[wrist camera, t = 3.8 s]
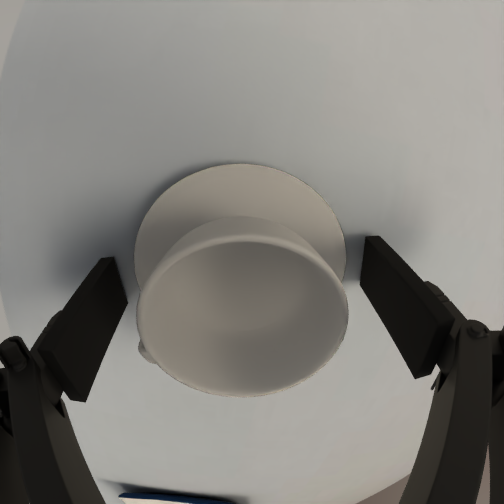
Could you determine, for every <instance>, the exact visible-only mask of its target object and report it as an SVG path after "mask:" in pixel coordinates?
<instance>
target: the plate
mask: <svg viewBox="0 0 504 504" xmlns="http://www.w3.org/2000/svg"><path fill="white" fill-rule="evenodd" d="M119 498H120V499H121V500H123V501H124V502H125V503H126V504H234V503H230V502H225V501H217V500H210V499H203V498H194V497H187V496H177V495H166V494H152V493H123V494H121V495H119Z"/></svg>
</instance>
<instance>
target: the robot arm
mask: <svg viewBox="0 0 504 504" xmlns="http://www.w3.org/2000/svg"><path fill="white" fill-rule="evenodd" d="M360 286H361V288H362V289H363V291H364V293H365V294H366V296H367V297H368V299H369V301H370V302H371V304H372V305H373V307H374V309H375V310H376V312H377V314H378V315H379V317H380V319H381V320H382V322H383V324H384V325H385V327H386V329H387V330H388V332H389V334H390V336H391V337H392V339H393V341H394V342H395V344H396V346H397V348H398V349H399V351H400V353H401V355H402V357H403V358H404V360H405V362H406V364H407V366H408V367H409V369H410V371H411V373H412V375H413V377H414V378H415V379H417V378H421V377H424V376H427V375H430V374H431V373H432V371H433V369H434V367H435V365H436V363H437V365H438V367H439V368H440V372H439V374H438V376H437V378H436V380H435V381H434V383H433V385H432V387H431V390H433V389H434V387H435V391H434V396H433V400H432V404H431V409H430V413H429V417H428V421H427V424H426V428H425V432H424V435H423V439H422V442H421V445H420V448H419V451H418V455H417V458H416V460H415V463H414V466H413V469H412V472H411V475H410V477H409V480H408V483H407V485H406V487H405V490H404V492H403V495H402V497H401V500H400V502H399V504H476V500H477V496H478V492H479V488H480V484H481V479H482V475H483V470H484V464H485V459H486V452H487V446H488V445H489V459H490V504H504V326H503V329H502V331H489V329H488V328H487V326H486V325H484V324H483V323H482V322H479V321H477V320H467V319H466V318H465V317H464V316H463V314H462V313H461V312H460V311H459V310H458V309H457V308H456V306H455V305H454V304H453V303H452V302H451V301H449V299H448V297H447V296H446V295H444V293H443V292H442V291H441V290H440V289H439V288H438V287H437V286H436V285H434V284H432V283H431V282H429V281H425V282H423V280H422V279H421V278H420V277H419V276H418V275H417V274H416V273H415V272H414V271H413V270H412V269H411V268H410V266H409V265H408V264H407V263H406V262H405V261H404V260H403V259H402V258H401V257H400V256H399V255H398V254H397V253H396V252H395V251H394V250H393V249H392V248H391V247H390V246H389V245H388V244H387V243H386V242H385V241H384V240H383V239H382V238H381V237H380V236H367V237H365V246H364V255H363V263H362V271H361V279H360ZM127 304H128V301H127V298H126V295H125V292H124V289H123V286H122V283H121V279H120V276H119V273H118V270H117V266H116V263H115V259H114V257H108V258H101V259H100V260H99V261H98V262H97V264H96V265H95V266H94V268H93V269H92V270H91V271H90V273H89V274H88V275H87V277H86V278H85V279H84V281H83V282H82V283H81V285H80V286H79V287H78V289H77V290H76V291H75V293H74V294H73V296H72V297H71V298H70V300H69V301H68V303H67V304H66V305H65V307H64V308H63V310H60V311H59V312H58V313H57V314H55V315H54V316H53V317H52V318H51V319H50V321H49V322H48V324H47V327H45V328H44V330H43V331H42V333H41V334H40V336H39V337H38V339H37V340H36V342H35V344H34V345H33V347H32V348H31V350H30V351H29V350H28V348H27V347H26V345H25V343H24V341H23V340H22V338H21V337H19V336H13V337H9V338H8V339H6V340H4V341H3V342H2V343H1V344H0V361H1V362H2V364H3V365H4V367H5V368H0V504H29V502H30V504H106V503H105V501H104V499H103V497H102V495H101V493H100V491H99V489H98V487H97V485H96V483H95V481H94V479H93V477H92V475H91V473H90V470H89V468H88V466H87V464H86V461H85V459H84V456H83V454H82V452H81V449H80V447H79V444H78V441H77V439H76V436H75V433H74V430H73V428H72V425H71V422H70V419H69V416H68V413H67V409H66V406H65V403H64V402H63V400H62V399H61V395H62V393H63V391H64V392H65V393H66V395H67V396H68V397H69V399H70V400H73V401H79V402H86V400H87V398H88V395H89V393H90V390H91V387H92V385H93V382H94V380H95V377H96V375H97V372H98V370H99V367H100V365H101V362H102V360H103V358H104V355H105V353H106V351H107V348H108V346H109V344H110V341H111V339H112V337H113V335H114V332H115V330H116V328H117V326H118V324H119V321H120V319H121V317H122V315H123V313H124V311H125V309H126V306H127Z"/></svg>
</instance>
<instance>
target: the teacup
mask: <svg viewBox="0 0 504 504" xmlns="http://www.w3.org/2000/svg"><path fill="white" fill-rule="evenodd" d="M345 266H346V247H345V241H344V236H343V233H342V230H341V227H340V225H339V222H338V220H337V218H336V216H335V214H334V213H333V211H332V210H331V208H330V207H329V205H328V204H327V203H326V202H325V200H324V199H323V198H322V197H321V196H320V195H319V194H318V193H317V192H316V191H315V190H313V189H312V188H311V187H310V186H308V185H307V184H306V183H304V182H303V181H301V180H299V179H297V178H296V177H294V176H292V175H290V174H288V173H285V172H283V171H280V170H277V169H273V168H270V167H266V166H261V165H253V164H229V165H221V166H215V167H211V168H207V169H204V170H201V171H199V172H196V173H194V174H191V175H189V176H187V177H185V178H184V179H182V180H180V181H179V182H177V183H175V184H174V185H173V186H171V187H170V188H169V189H168V190H166V191H165V192H164V193H163V194H162V195H161V196H160V197H159V198H158V199H157V200H156V201H155V202H154V204H153V205H152V206H151V208H150V209H149V211H148V212H147V214H146V216H145V217H144V219H143V221H142V223H141V226H140V228H139V231H138V234H137V238H136V242H135V249H134V267H135V274H136V279H137V282H138V285H139V288H140V291H141V293H140V296H139V299H138V304H137V314H136V319H137V327H138V332H139V335H140V338H141V339H140V342H139V346H138V349H139V352H140V354H141V355H142V356H143V357H144V358H145V359H146V360H147V361H149V362H150V363H154V364H157V365H158V366H159V367H160V368H161V369H162V370H164V371H165V372H166V373H167V374H169V375H170V376H171V377H173V378H174V379H176V380H177V381H179V382H181V383H183V384H185V385H187V386H189V387H191V388H194V389H196V390H199V391H202V392H206V393H209V394H214V395H219V396H226V397H255V396H262V395H268V394H272V393H276V392H280V391H283V390H285V389H288V388H291V387H293V386H295V385H297V384H299V383H301V382H303V381H305V380H306V379H308V378H310V377H311V376H313V375H314V374H315V373H317V372H318V371H319V370H320V369H321V368H322V367H323V366H325V365H326V364H327V362H328V361H329V360H330V359H331V358H332V357H333V355H334V354H335V353H336V351H337V350H338V348H339V346H340V344H341V342H342V340H343V338H344V335H345V332H346V329H347V324H348V303H347V298H346V294H345V291H344V288H343V286H342V281H343V277H344V273H345Z"/></svg>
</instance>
